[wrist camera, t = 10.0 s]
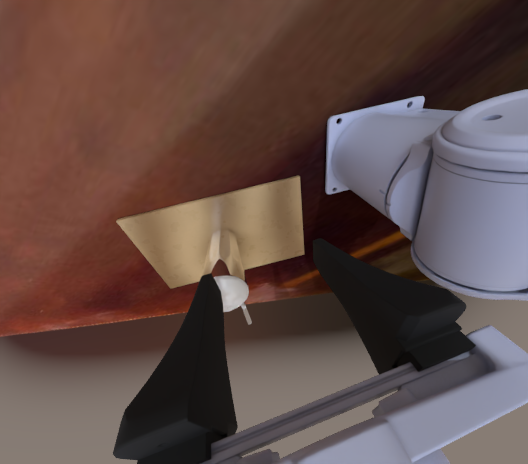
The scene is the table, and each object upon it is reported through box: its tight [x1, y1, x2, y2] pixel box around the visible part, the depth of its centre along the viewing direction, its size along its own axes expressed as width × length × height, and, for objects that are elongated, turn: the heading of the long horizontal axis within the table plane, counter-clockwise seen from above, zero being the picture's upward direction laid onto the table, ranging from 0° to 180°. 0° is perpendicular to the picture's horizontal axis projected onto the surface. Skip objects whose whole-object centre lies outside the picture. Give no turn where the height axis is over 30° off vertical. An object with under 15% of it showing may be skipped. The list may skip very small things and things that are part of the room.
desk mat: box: [116, 176, 304, 288], centre depth 24 cm, size 20×12×1 cm, turn 100°
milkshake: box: [201, 229, 252, 325], centre depth 19 cm, size 4×5×10 cm
